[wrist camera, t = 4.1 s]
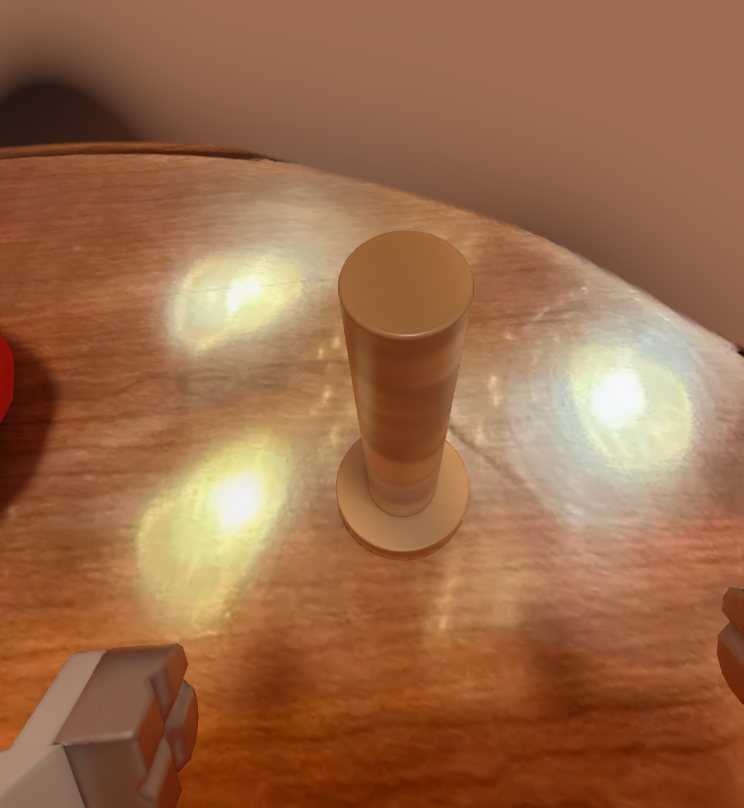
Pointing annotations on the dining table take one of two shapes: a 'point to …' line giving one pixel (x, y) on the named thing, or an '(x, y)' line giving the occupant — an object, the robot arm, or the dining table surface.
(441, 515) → the wooden peg stand
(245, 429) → the dining table surface
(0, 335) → the tomato
